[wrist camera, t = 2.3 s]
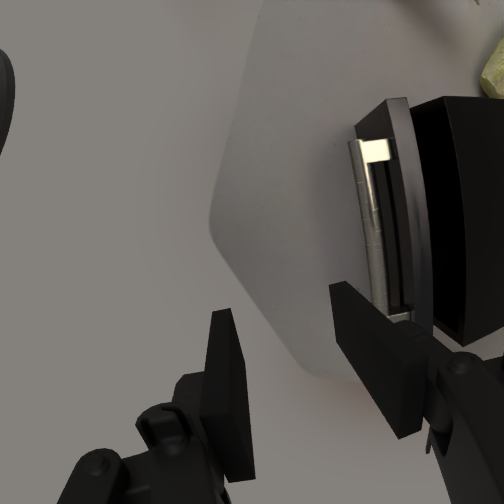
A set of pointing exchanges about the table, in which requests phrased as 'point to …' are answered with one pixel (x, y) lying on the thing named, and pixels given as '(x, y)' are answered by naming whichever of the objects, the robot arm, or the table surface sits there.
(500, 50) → the lettuce
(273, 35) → the table surface
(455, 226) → the oven
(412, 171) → the oven door
